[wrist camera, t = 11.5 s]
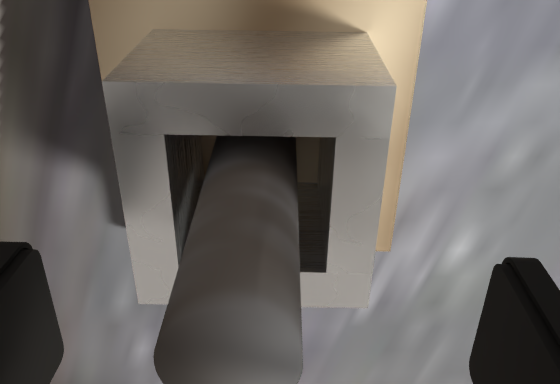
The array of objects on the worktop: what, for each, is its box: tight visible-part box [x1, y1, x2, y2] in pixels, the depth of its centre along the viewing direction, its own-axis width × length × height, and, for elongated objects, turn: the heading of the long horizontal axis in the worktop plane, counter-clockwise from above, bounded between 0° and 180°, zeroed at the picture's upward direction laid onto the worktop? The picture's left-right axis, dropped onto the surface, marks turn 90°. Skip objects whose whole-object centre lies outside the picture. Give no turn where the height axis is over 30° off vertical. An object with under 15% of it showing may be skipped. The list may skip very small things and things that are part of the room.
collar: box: [102, 29, 397, 308], centre depth 15 cm, size 6×6×5 cm
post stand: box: [88, 0, 427, 384], centre depth 13 cm, size 10×10×11 cm
